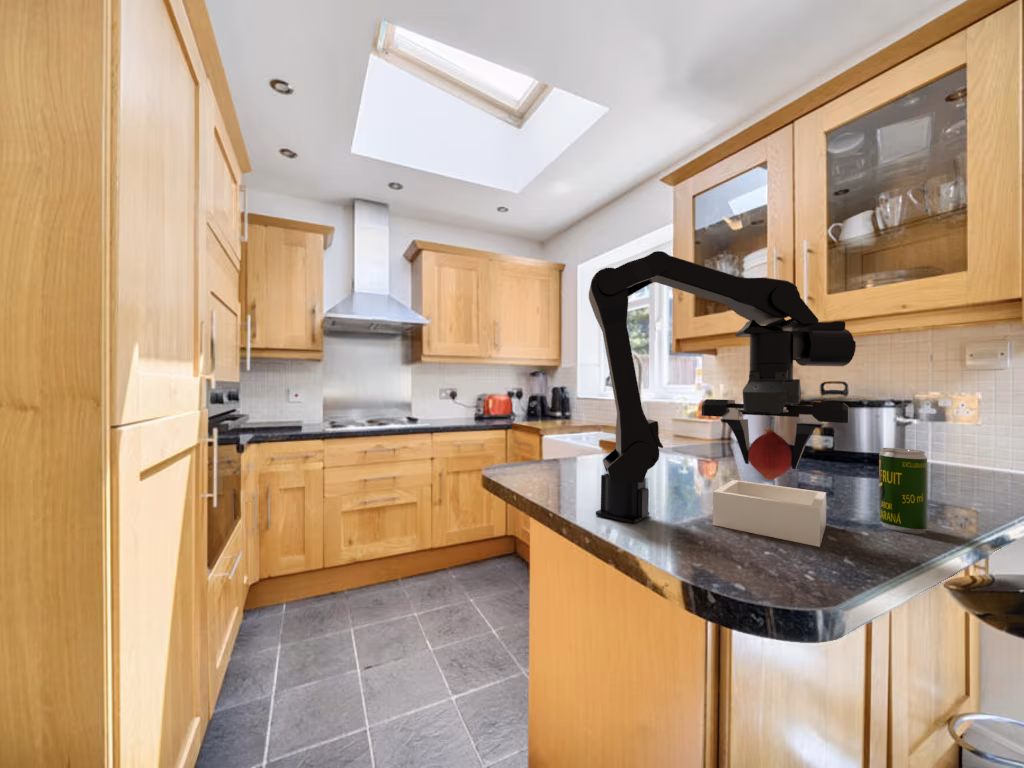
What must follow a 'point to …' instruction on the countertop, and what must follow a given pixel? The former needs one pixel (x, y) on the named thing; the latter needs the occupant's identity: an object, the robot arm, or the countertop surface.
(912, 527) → the green soda can
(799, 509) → the bin
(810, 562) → the countertop surface
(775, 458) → the onion
